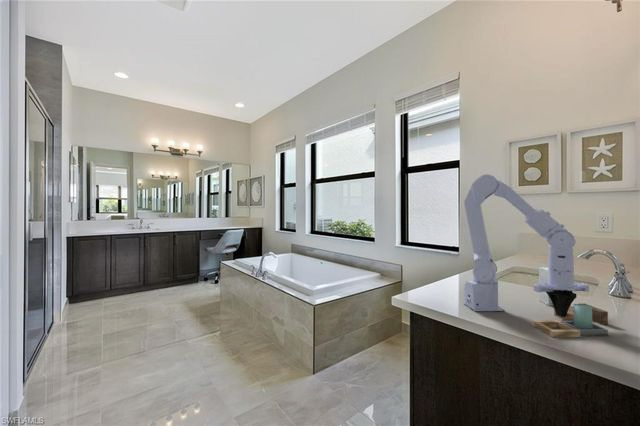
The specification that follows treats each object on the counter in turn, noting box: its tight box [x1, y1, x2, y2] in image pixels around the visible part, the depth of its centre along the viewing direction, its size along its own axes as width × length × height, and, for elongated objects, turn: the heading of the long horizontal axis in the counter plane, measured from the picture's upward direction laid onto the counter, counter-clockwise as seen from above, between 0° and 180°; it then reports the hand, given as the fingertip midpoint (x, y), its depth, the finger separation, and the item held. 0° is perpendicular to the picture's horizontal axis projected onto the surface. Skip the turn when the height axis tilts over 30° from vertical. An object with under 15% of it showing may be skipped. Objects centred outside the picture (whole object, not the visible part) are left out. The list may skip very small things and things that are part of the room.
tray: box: [560, 320, 609, 337], centre depth 75 cm, size 7×6×2 cm
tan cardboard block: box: [553, 306, 574, 321], centre depth 83 cm, size 5×7×2 cm
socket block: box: [531, 319, 581, 338], centre depth 75 cm, size 7×7×2 cm
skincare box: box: [538, 266, 554, 307], centre depth 96 cm, size 6×4×12 cm
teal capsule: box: [573, 303, 594, 329], centre depth 75 cm, size 4×4×6 cm
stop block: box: [581, 303, 609, 325], centre depth 82 cm, size 2×7×4 cm, turn 179°
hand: (560, 315), depth 82 cm, fingers closed
